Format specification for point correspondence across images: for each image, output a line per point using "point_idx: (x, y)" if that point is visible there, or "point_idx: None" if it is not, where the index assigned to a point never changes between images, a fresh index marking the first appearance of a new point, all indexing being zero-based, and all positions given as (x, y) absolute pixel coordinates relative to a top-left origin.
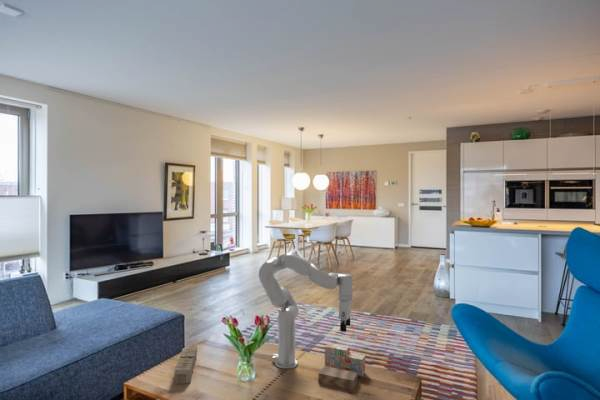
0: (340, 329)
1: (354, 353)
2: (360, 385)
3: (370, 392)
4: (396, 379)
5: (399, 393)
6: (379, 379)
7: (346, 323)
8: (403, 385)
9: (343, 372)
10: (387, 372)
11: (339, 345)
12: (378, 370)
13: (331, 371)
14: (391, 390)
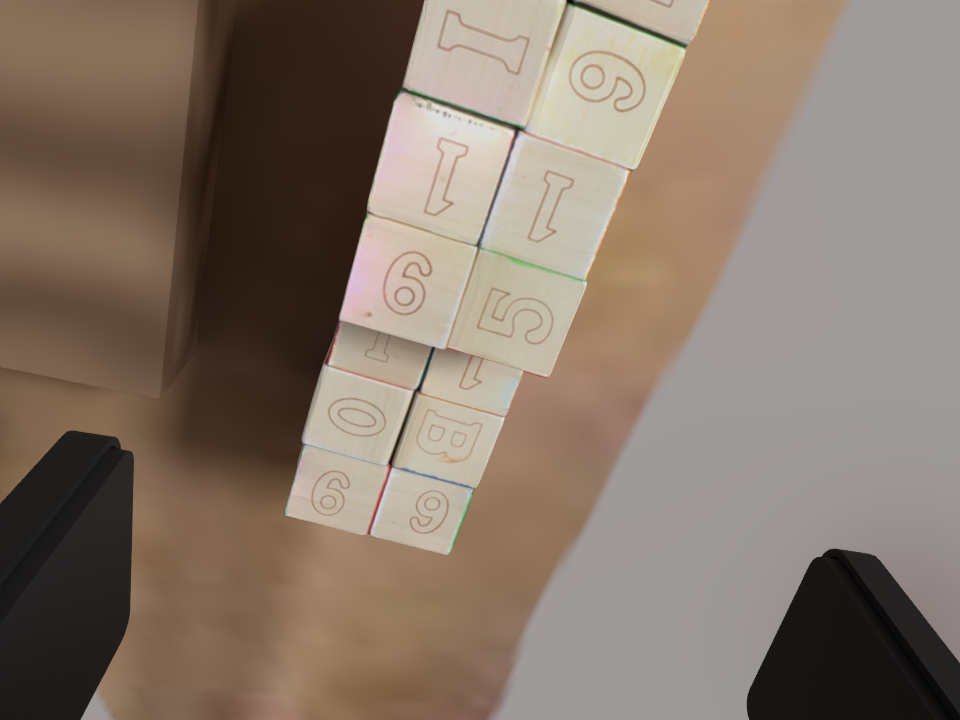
0: (39, 469)
1: (492, 415)
2: None
3: (14, 470)
4: (365, 678)
5: (109, 682)
6: (322, 552)
7: (828, 672)
8: (266, 716)
9: (89, 217)
10: (493, 621)
11: (581, 180)
12: (523, 551)
13: (46, 23)
14: (136, 632)
